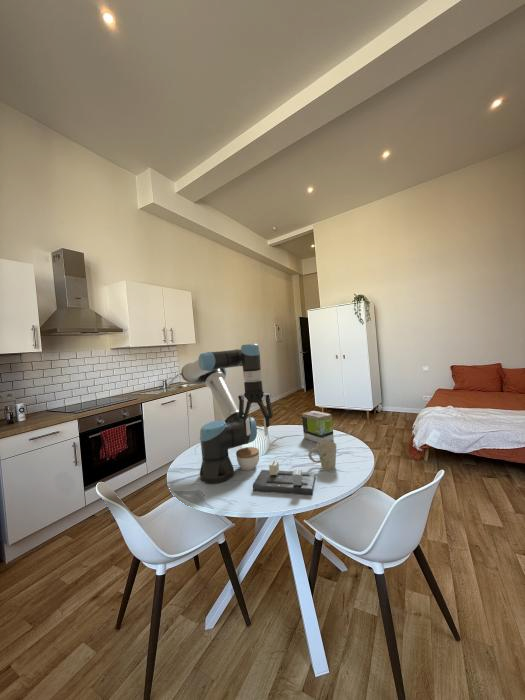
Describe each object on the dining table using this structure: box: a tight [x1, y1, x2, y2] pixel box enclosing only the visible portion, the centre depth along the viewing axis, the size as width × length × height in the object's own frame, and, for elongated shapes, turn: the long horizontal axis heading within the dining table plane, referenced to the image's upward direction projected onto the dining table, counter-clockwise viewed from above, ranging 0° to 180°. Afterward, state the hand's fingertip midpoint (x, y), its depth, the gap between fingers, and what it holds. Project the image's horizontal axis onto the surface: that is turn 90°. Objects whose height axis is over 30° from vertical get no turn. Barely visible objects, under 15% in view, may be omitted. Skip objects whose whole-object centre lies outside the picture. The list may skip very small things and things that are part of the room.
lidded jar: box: [235, 446, 260, 471], centre depth 130 cm, size 11×11×9 cm
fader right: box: [293, 469, 303, 485], centre depth 107 cm, size 3×4×4 cm
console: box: [252, 469, 316, 496], centre depth 112 cm, size 23×13×3 cm, turn 74°
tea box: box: [301, 410, 335, 444], centre depth 160 cm, size 15×10×15 cm, turn 32°
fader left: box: [268, 460, 280, 475], centre depth 117 cm, size 3×4×4 cm
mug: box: [308, 441, 337, 471], centre depth 125 cm, size 8×13×10 cm, turn 78°
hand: (257, 434), depth 118 cm, fingers open, 7 cm apart
